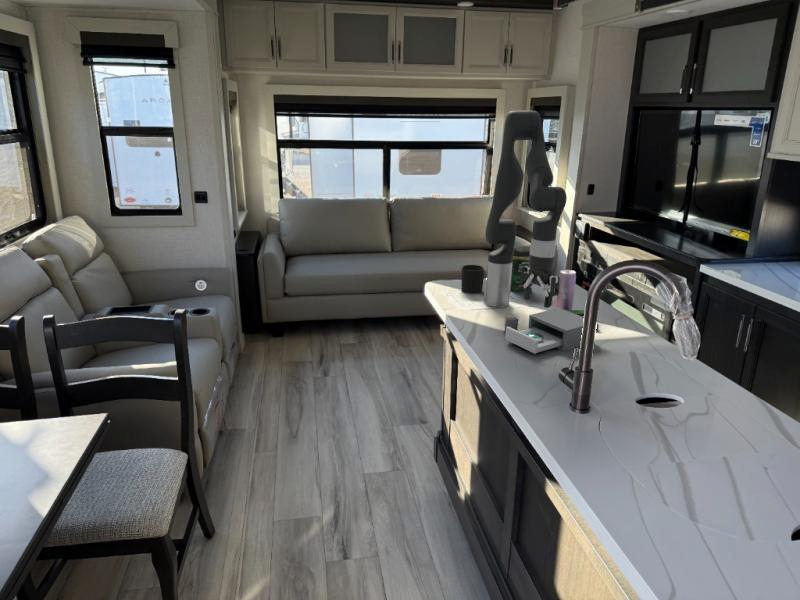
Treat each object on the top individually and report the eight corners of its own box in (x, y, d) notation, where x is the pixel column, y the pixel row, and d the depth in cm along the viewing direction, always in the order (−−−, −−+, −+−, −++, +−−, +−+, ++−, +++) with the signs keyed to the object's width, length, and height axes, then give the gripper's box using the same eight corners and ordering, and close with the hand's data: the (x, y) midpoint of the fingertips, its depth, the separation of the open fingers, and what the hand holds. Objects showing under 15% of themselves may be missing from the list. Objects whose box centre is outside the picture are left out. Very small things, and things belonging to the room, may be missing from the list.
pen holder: (487, 290, 234) (489, 267, 231) (474, 295, 228) (475, 272, 224) (469, 286, 240) (470, 263, 237) (455, 290, 234) (457, 267, 230)
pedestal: (501, 331, 191) (502, 318, 189) (511, 329, 193) (512, 315, 192) (510, 336, 188) (511, 322, 186) (520, 333, 190) (521, 319, 188)
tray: (505, 339, 182) (506, 327, 180) (534, 331, 188) (535, 319, 187) (534, 353, 171) (535, 340, 170) (564, 344, 178) (565, 332, 177)
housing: (527, 334, 189) (529, 315, 187) (556, 326, 196) (558, 307, 194) (563, 351, 176) (566, 330, 174) (593, 342, 184) (596, 322, 181)
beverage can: (573, 308, 214) (578, 271, 209) (569, 313, 209) (573, 274, 204) (558, 305, 217) (562, 268, 212) (553, 310, 212) (557, 272, 207)
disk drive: (598, 332, 193) (588, 317, 207) (599, 325, 192) (589, 309, 206) (567, 331, 194) (560, 315, 208) (568, 323, 193) (561, 308, 207)
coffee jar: (511, 292, 233) (514, 248, 227) (504, 286, 240) (507, 244, 234) (533, 291, 234) (537, 248, 228) (526, 285, 242) (529, 243, 236)
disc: (520, 338, 180) (520, 334, 180) (533, 335, 183) (534, 330, 183) (533, 345, 175) (534, 340, 175) (547, 341, 178) (547, 336, 178)
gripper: (516, 249, 174) (512, 298, 179) (551, 260, 162) (545, 312, 168) (534, 246, 177) (529, 294, 183) (568, 257, 166) (562, 307, 172)
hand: (537, 303), depth 175 cm, fingers open, 8 cm apart
